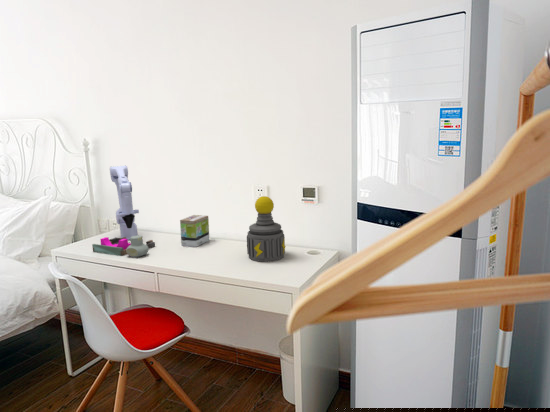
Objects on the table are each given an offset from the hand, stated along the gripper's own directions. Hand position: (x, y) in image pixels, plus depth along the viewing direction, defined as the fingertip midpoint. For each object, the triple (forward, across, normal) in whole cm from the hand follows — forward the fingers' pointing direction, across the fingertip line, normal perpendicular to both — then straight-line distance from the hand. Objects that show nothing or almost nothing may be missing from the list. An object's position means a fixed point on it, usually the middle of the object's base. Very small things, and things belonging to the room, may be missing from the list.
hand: (129, 228), depth 240 cm
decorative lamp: (+10, +7, -83) cm, 84 cm away
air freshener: (+10, -15, -20) cm, 27 cm away
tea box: (+10, +15, -34) cm, 38 cm away
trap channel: (+9, -7, -2) cm, 12 cm away
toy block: (+10, -14, -4) cm, 17 cm away
